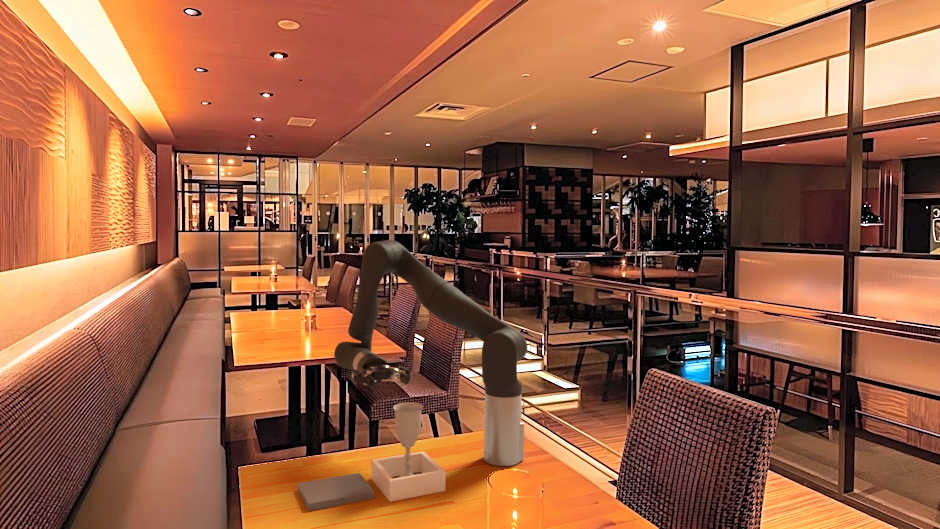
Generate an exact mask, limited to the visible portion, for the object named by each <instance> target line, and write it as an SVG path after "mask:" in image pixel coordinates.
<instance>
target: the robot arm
mask: <svg viewBox="0 0 940 529" xmlns="http://www.w3.org/2000/svg"><path fill="white" fill-rule="evenodd" d="M360 266H361V267H360V274H359V283H358V289H357V297H356V301H355V305H354V309H353V312H352V316H351V319H350V323H349V326H348V329H347V331H348V332H347V333H348V335H349V336H350V338H352V339H354V340H356V341H359V342H354V341H341V342H340V343H337V345H336V346H335V348H334V353H333V356H334V360H335V362H336V364H337V365H338V366H340V367H341V368H345V369H347V370H351V381H352V382H353V383H354V384H355V385H357V386H359V385H362V384H363V385H365V386H368V387H370V388H371V389H372V388H374V389H375V386H376V385H379V384H383V382H393V383H395V382H401V383H402V384H404V385H408V384H409V383H410V380H411V378H412V377H411V372H412V370H411V369H410V368H408V367H405V366H404V365H398V367H393V366H390V364H389V363H388V362H387V360H386V359H385V358H383V357H382V356H380V355H378V353H376V352H374V351H372V344H373V343H372V342H373V341H372V340H373V334H374V330H375V329H376V328H375V327H376V324H377V321H378V318H379V310H380V309H379V300H378V291H379V287H380V284H381V282H382V280H383V278H384V276H385V275H389V274H394V275H396V276H397V277H399V278H400V279H402V280H403V281H405V282H406V283H408V284H409V286H411V288H412V289H413V291H414V292H415V295H416V297H417V299H418V302H420V303H421V305H422V307H424V309H426V310H427V311H428V312H430V313H431V314H432V315H433V316H435V317H436V318H438V319H439V320H441V321H442V322H443V323H445V324H448V325H450V326H452V327H454V328H458V330H462V331H465V332H466V333H470V334H471V335H473V336H475V337H476V338H477V339H479V340H480V341H482V348H481V372H482V373H481V374H482V382H483V385H484V429H483V430H484V432H483V433H484V434H483V435H484V436H483V437H484V438H483V440H484V441H483V446H484V447H483V461H484V462H485V463H487V464H489V465H492V466H497V467H499V466H500V467H509V466H514V465H517V464H519V463H520V462H522V461H523V462H524V460H525V459H524V453H525V451H524V450H525V448H524V447H525V446H524V445H525V423H524V422H523V421H522V400H523V399H522V394H523V392H522V391H523V390H522V388H523V385H522V382H521V381H520V380H519V379H518V368H517V367H518V364H517V363H518V362H519V361H521V360H522V359H523V358H525V356H526V354H527V353H528V343H527V340H526V338H525V336H524V335H523V333H522V332H521V331H519V330H518V329H517V328H515V327H514V326H512V325H510V324H507V322H504V321H503V320H501V319H499V318H498V317H496V316H494V315H493V314H492V313H490V312H488V311H487V310H485V309H484V308H483V307H482V306H480V305H479V304H478V303H477V302H476V301H474V300H473V299H471V298H470V297H469V296H468V295H466V294H464V293H463V292H462V291H461V290H460V289H459V288H458V287H456V286H454V285H453V284H452V283H450V282H449V281H447V280H446V279H444V278H443V276H440V275H439V274H438V273H436V272H435V271H433V270H432V269H431V268H429V267H428V266H426V265H425V264H424V263H423V262H421V261H420V260H419V259H418V258H417V257H416V256H414V255H413V253H412V252H410V251H409V250H408V249H407V248H406V247H405V246H404V245H402V243H400V242H399V241H396V240H394V239H393V240H392V239H387V240H386V239H385V240H381V241H374V242H371V243H370V244H368V245H367V246H366V248H364V251H363V254H362V259H361V265H360Z"/></svg>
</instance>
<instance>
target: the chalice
mask: <svg viewBox="0 0 940 529" xmlns="http://www.w3.org/2000/svg"><path fill="white" fill-rule="evenodd" d="M392 408H393V410H394V413H395V414H394V430H395V434H396V435H397V438H398V440H399V442H400V444H401V447H403V448H404V449H405V458H406V462H405V463H404V465H405V467H406V471H405V472H404V473H403V474H401V475H400V476H399V477H405V476H410V475H415V473H411V472H410V465H411V464H412V463H411V462H410V457H411V454H410V453H411V448H412V447H414V446H415V445H416V442H417V439H419V435H420V432H421V429H422V411H423V409H424V405H423V404H422V403H419V402H411V401H410V402H409V401H407V402H400V403H397V404H395V405H393V407H392Z"/></svg>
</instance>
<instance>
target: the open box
mask: <svg viewBox="0 0 940 529" xmlns="http://www.w3.org/2000/svg"><path fill="white" fill-rule="evenodd" d="M405 454H406V453H405ZM405 454H399V455H393V456H388V457H387V456H386V457H382V458H381V457H380V458H375V459H374V458H373V459H371V472H370V477H371V478H370V479H371V481H372V482H373V483H374V484H375V485H376V486H377V488H378V489H379V490H380V491H381V493H382V495H383V496H385V498H386V499H387V500H388V501H389V502H395V501H401V500H405V499H411V498H416V497H421V496H426V495H431V494H437V493H441V492H445V491H446V485H447V484H446V480H447V479H446V477H447V476H446V475H447V474H446V473H447V472H446V470H445V469H444V468H443V467H442V466H441V465H440V464H438V463H437V462H436V461H435V460H434V459H433V458H432V457H431V456H429V455H428V454H427V452H425V451H423V450H422V451H417V452H410V454H411V457H410V462H411V463H412V464H411V465H410V472H411V473H413V474H414V475H410V476H405V477H400V476H401V474H403V473H404V472H405V471H406V467H405V465H404V463H405V462H406V458H405ZM415 473H417V474H415ZM394 477H396V478H394Z"/></svg>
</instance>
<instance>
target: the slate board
mask: <svg viewBox="0 0 940 529" xmlns="http://www.w3.org/2000/svg"><path fill="white" fill-rule="evenodd" d="M297 490H298V494H299V495H300V497H301V499H302V500H303V503H304V504H305V507H306V508H307V510H308V512H311V511H316V510H321V509H327V508H331V507H336V506H341V505H342V506H343V505H347V504H351V503H357V502H363V501H367V500H371V499H375V491H374V489H373V488H372V487H371V485H370V484H369V483H368V482H367V480H366V479H365V478H364V477H363V475H362V474H361V472H356V473H351V474H346V475H345V474H344V475H340V476H333V477H327V478H323V479H322V478H321V479H316V480H315V479H314V480H309V481H303V482H299V483H297Z"/></svg>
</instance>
